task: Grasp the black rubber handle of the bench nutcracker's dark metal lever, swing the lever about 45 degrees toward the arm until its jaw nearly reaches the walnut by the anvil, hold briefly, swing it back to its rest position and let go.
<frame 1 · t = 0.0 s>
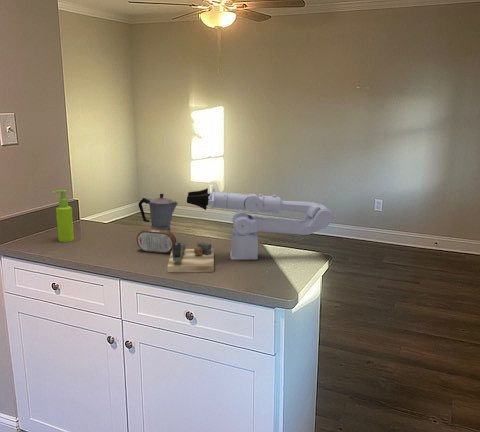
hand: (187, 197, 172), 22 cm above the counter, tool horizontal, fingers open, 7 cm apart
tin: (156, 252, 182), on the counter, touching cracker base
soap dispenser: (64, 240, 196), on the counter
lever: (178, 247, 168), point 6 cm above the counter, hinge at 0.0°
cracker base: (179, 259, 174), on the counter
moka pot: (159, 244, 192), on the counter
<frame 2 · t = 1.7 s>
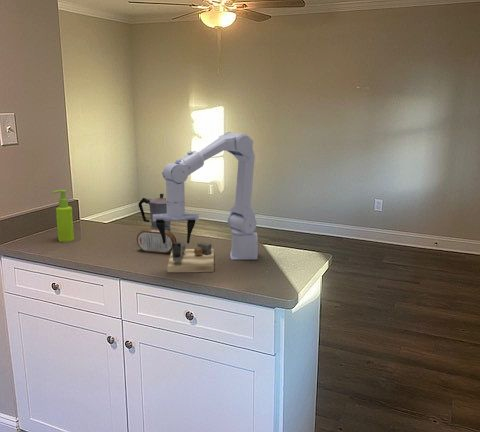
hand: (176, 242, 160), 10 cm above the counter, tool pointing down, fingers open, 7 cm apart
nothing on the counter moved.
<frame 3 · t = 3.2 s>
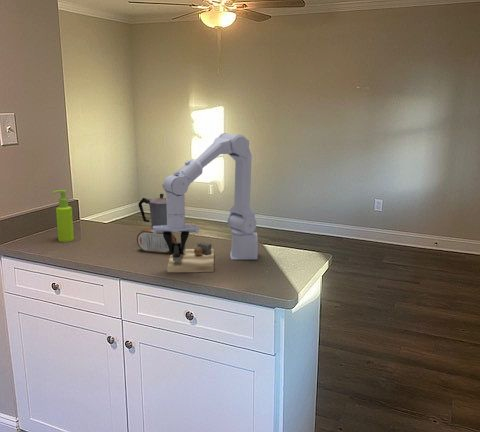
hand: (176, 253, 160), 6 cm above the counter, tool pointing down, fingers closed on lever, 3 cm apart
lever: (178, 247, 168), point 6 cm above the counter, hinge at 0.0°, touching gripper
everything else where it was.
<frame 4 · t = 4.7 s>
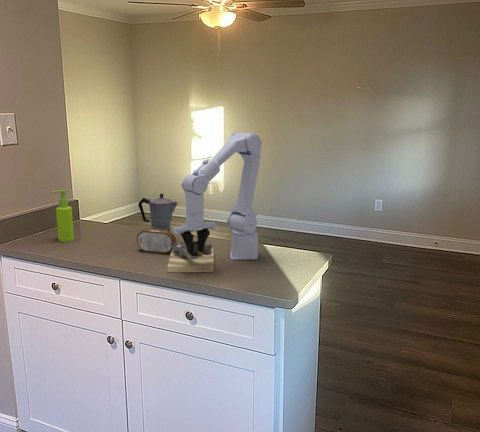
hand: (195, 252, 162), 6 cm above the counter, tool pointing down, fingers open, 3 cm apart
lever: (184, 246, 168), point 6 cm above the counter, hinge at 28.3°, touching gripper
everything else where it was.
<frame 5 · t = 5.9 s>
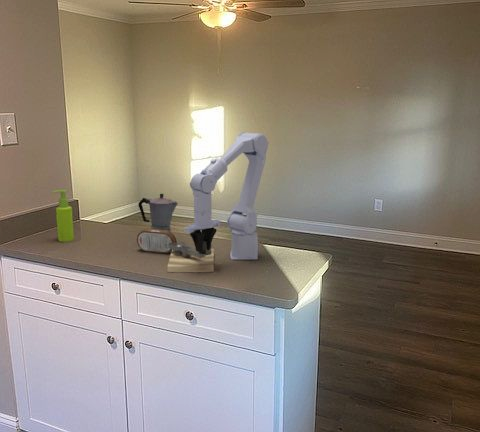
hand: (203, 250, 164), 6 cm above the counter, tool pointing down, fingers open, 3 cm apart
lever: (187, 246, 169), point 6 cm above the counter, hinge at 44.3°, touching gripper
everything else where it was.
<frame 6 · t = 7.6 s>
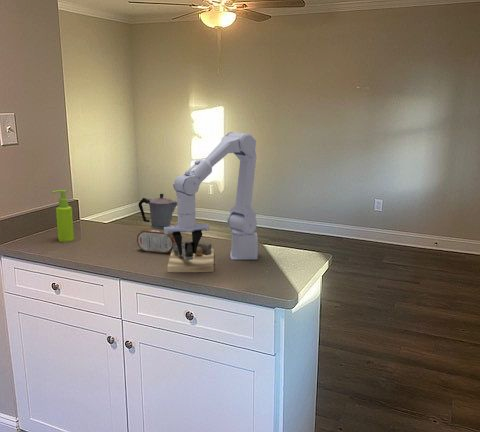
hand: (187, 253, 161), 6 cm above the counter, tool pointing down, fingers open, 4 cm apart
lever: (182, 246, 168), point 6 cm above the counter, hinge at 19.6°, touching gripper
everything else where it was.
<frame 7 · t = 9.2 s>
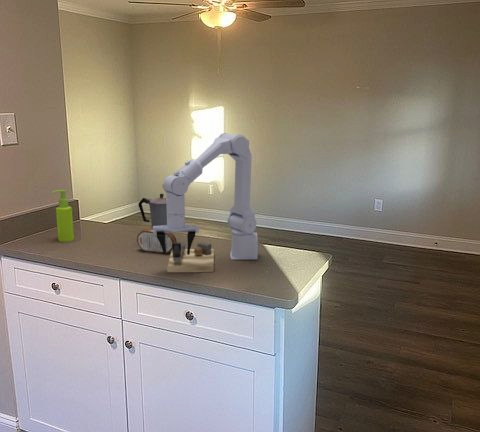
hand: (176, 253, 160), 6 cm above the counter, tool pointing down, fingers open, 7 cm apart
lever: (178, 247, 168), point 6 cm above the counter, hinge at 0.2°
everything else where it was.
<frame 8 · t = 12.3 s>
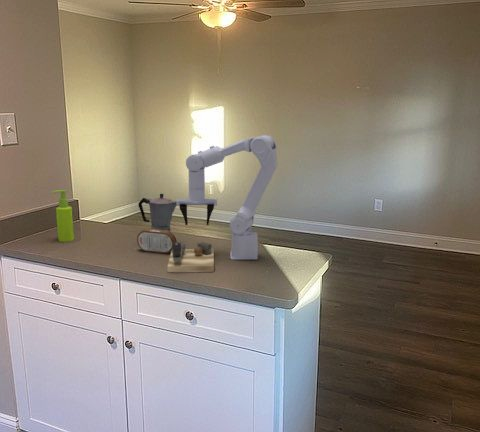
hand: (197, 224, 180), 10 cm above the counter, tool pointing down, fingers open, 7 cm apart
nothing on the counter moved.
at the end: lever at +0° (first picture: +0°); the gripper is holding nothing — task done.
